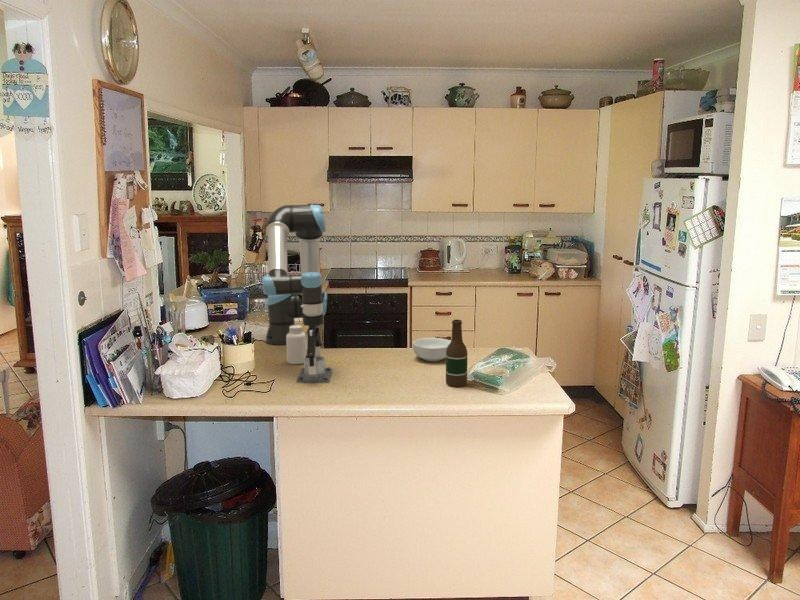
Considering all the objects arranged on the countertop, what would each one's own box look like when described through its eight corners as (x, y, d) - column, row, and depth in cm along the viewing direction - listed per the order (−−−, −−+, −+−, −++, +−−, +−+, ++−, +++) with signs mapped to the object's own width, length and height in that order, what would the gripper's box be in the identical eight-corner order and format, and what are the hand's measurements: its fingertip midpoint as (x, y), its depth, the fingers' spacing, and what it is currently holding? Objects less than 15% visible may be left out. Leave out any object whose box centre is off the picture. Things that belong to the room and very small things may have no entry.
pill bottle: (308, 359, 264) (307, 324, 261) (304, 365, 256) (302, 329, 253) (290, 358, 265) (288, 324, 262) (284, 364, 257) (283, 328, 254)
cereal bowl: (441, 367, 252) (442, 350, 250) (405, 361, 260) (405, 344, 259) (459, 356, 266) (460, 340, 265) (424, 351, 274) (424, 335, 273)
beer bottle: (441, 383, 232) (441, 320, 227) (456, 379, 237) (456, 316, 232) (456, 389, 226) (457, 323, 222) (471, 384, 231) (472, 320, 226)
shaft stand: (302, 370, 249) (301, 357, 248) (332, 370, 249) (332, 357, 247) (296, 382, 235) (295, 368, 234) (328, 382, 235) (328, 368, 234)
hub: (306, 370, 245) (306, 356, 244) (326, 370, 245) (325, 355, 244) (303, 377, 238) (303, 361, 237) (323, 376, 238) (323, 361, 237)
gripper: (307, 306, 249) (309, 358, 253) (297, 321, 225) (299, 379, 229) (326, 306, 249) (328, 358, 253) (318, 321, 225) (320, 378, 229)
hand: (314, 368), depth 241 cm, fingers open, 13 cm apart
